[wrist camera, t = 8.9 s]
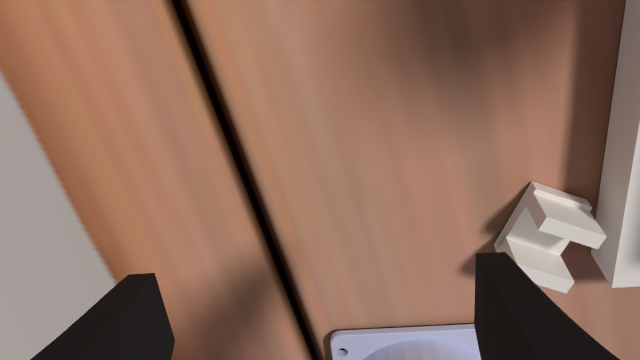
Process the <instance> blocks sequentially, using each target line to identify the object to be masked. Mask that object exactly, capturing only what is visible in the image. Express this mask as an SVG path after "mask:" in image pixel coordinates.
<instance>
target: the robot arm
mask: <svg viewBox="0 0 640 360" xmlns="http://www.w3.org/2000/svg"><path fill="white" fill-rule="evenodd" d="M174 342H175V339H174V336H173V332H172V329H171V326H170V323H169V319H168V316H167V313H166V309H165V306H164V303H163V300H162V296H161V293H160V290H159V286H158V283H157V280H156V277H155V273H148V274H132V275H128V276H127V277H125V278H124V279H123V280H122V281H120V282H119V283H118V284H117V285H116V286H115V287H114V288H112V289H111V290H110V291H109V292H108V293H107V294H106V295H105V296H104V297H103V298H101V299H100V300H99V301H98V302H97V303H96V304H95V305H94V306H93V307H91V308H90V309H89V310H88V311H87V312H86V313H85V314H84V315H83V316H81V317H80V318H79V319H78V320H77V321H76V322H75V323H73V324H72V325H71V326H70V327H69V328H68V329H67V330H66V331H65V332H63V333H62V334H61V335H60V336H59V337H57V338H56V339H55V340H54V341H53V342H51V343H50V344H49V345H48V346H46V347H45V348H44V349H43V350H42V351H41V352H39V353H38V354H37V355H36V356H34V357H33V358H32V359H31V360H171V357H172V352H173V347H174ZM330 346H331V353H332V360H620V359H618V358H617V357H616V356H614V355H613V354H612V353H610V352H609V351H608V350H607V349H605V348H604V347H603V346H602V345H601V344H599V343H598V342H597V341H596V340H595V339H593V338H592V337H591V336H590V335H589V334H588V333H586V332H585V331H584V330H583V329H582V328H581V327H580V326H578V325H577V324H576V323H575V322H574V321H573V320H572V319H571V318H570V317H569V316H568V315H566V314H565V313H564V312H563V311H562V310H561V309H560V308H559V307H558V306H557V305H556V304H555V303H554V302H553V301H552V300H551V299H550V298H549V297H548V296H547V295H546V294H545V293H544V292H543V291H542V290H541V289H540V288H539V287H538V286H537V285H536V284H535V283H534V282H533V281H532V280H531V279H530V278H529V277H528V276H527V274H526V273H525V272H524V271H523V270H522V269H521V268H520V267H519V266H518V265H517V264H516V262H515V261H514V260H513V259H512V258H511V257H510V256H509V255H508V254H507V253H506V252H496V253H479V254H476V276H475V316H474V324H463V325H443V326H423V327H403V328H382V329H362V330H342V331H336V332H334V333H333V334H332V335H331V339H330ZM340 348H344V349H346V350H339V349H340Z"/></svg>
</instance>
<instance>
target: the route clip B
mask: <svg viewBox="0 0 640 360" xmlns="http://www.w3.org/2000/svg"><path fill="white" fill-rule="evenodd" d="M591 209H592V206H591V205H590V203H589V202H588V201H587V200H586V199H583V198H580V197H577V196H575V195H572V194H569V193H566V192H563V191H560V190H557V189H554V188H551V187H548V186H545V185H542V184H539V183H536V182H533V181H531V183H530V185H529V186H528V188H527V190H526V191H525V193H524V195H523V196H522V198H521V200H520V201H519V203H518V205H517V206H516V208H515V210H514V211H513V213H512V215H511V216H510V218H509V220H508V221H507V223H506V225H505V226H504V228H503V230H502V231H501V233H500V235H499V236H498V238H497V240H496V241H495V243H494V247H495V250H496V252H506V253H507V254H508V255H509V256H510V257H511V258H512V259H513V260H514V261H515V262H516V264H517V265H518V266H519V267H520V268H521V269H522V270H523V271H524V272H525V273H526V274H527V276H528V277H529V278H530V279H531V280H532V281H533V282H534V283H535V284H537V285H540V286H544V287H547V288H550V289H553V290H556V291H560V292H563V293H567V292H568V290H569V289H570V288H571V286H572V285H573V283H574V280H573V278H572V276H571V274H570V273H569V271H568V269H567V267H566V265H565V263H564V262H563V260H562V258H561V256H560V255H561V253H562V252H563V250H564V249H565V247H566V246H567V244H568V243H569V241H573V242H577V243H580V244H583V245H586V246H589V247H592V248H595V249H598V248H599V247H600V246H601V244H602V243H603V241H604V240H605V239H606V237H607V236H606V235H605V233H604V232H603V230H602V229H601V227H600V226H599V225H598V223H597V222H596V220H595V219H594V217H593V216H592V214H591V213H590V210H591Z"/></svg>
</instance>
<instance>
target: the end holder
mask: <svg viewBox="0 0 640 360" xmlns="http://www.w3.org/2000/svg"><path fill="white" fill-rule="evenodd" d="M595 220H596V222H597V223H598V225H599V226H600V227H601V229H602V230H603V232H604V233H605V235H606V236H607V237H606V239H605V240H604V241H603V243H602V244H601V246H600V247H599V248H598V249H595V248H592V247H591V255H592V257H593V258H594V260H595V262H596V263H597V265H598V266H599V268H600V270H601V271H602V273H603V275H604V276H605V278H606V279H607V281H608V283H609V284H610V286H611V287H612V288H618V287H636V286H640V0H626V5H625V12H624V19H623V26H622V33H621V40H620V47H619V55H618V62H617V69H616V76H615V83H614V90H613V97H612V104H611V112H610V119H609V126H608V133H607V140H606V147H605V154H604V161H603V169H602V176H601V183H600V190H599V197H598V204H597V211H596V218H595Z"/></svg>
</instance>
